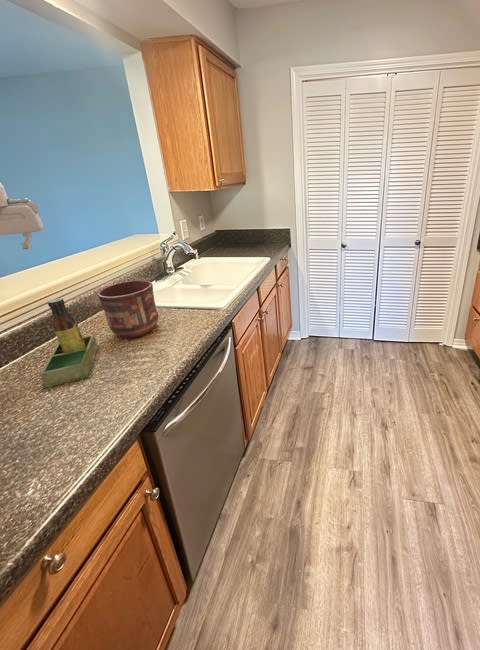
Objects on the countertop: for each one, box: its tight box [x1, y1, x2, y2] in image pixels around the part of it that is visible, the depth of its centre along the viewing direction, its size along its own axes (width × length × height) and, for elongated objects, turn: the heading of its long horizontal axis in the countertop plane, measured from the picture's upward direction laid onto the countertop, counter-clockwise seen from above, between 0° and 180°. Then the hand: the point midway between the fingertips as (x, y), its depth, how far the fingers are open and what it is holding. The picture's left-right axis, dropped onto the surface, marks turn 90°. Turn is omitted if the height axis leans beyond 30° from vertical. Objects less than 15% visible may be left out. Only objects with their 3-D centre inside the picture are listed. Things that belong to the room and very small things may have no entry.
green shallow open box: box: [40, 334, 99, 388], centre depth 103 cm, size 11×20×5 cm, turn 23°
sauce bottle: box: [47, 297, 86, 353], centre depth 104 cm, size 6×6×20 cm
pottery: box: [97, 279, 160, 340], centre depth 120 cm, size 18×18×18 cm
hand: (7, 250), depth 93 cm, fingers open, 8 cm apart
